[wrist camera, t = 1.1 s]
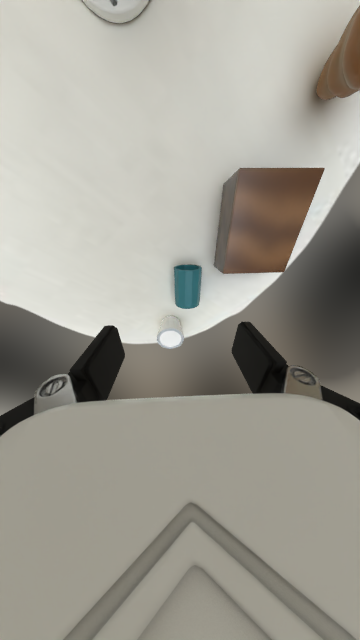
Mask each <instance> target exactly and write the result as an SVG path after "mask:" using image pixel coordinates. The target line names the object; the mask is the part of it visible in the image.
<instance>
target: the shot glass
mask: <svg viewBox="0 0 360 640" xmlns="http://www.w3.org/2000/svg"><path fill="white" fill-rule="evenodd" d="M183 340H184V336H183V332H182V328H181V324H180V321H179V319H178V318H177V317H174V316H167V317H165V318H164V319H163V320H162V322H161V325H160V329H159V332H158V335H157V341H158V343H159V344H160V345H161V346H162V347H165V348H168V349H173V348H177V347H179V346H180V345H181V344H182V343H183Z"/></svg>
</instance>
